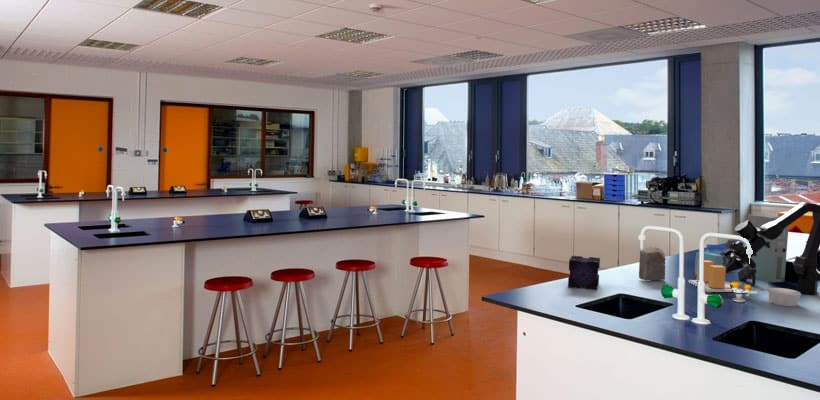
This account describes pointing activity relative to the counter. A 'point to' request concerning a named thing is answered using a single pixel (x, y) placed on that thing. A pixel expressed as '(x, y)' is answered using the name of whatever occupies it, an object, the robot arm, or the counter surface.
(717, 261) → the data package
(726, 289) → the dip bank
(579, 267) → the energy cube
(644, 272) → the geological specimen
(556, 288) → the counter surface
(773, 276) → the device
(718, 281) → the orange rectangular block
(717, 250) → the label tape box
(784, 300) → the ramekin
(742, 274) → the gun
